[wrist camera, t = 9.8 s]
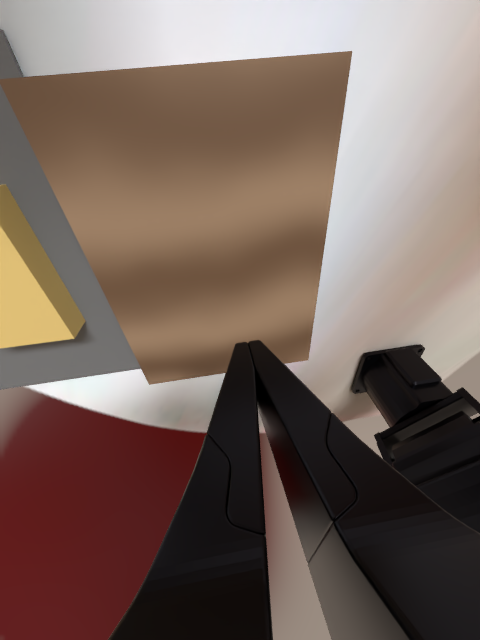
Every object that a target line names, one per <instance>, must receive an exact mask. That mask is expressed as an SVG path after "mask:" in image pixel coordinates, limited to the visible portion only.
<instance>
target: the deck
mask: <svg viewBox="0 0 480 640" xmlns="http://www.w3.org/2000/svg"><path fill="white" fill-rule="evenodd" d="M351 56H352V51H347V52H335V53H322V54H310V55H297V56H285V57H272V58H259V59H247V60H234V61H222V62H209V63H197V64H184V65H171V66H159V67H146V68H134V69H121V70H108V71H96V72H83V73H71V74H58V75H46V76H33V77H20V78H8V79H0V85H1V87H2V89H3V91H4V93H5V95H6V97H7V99H8V101H9V103H10V105H11V107H12V109H13V111H14V113H15V115H16V117H17V119H18V121H19V123H20V125H21V127H22V129H23V131H24V133H25V135H26V137H27V139H28V141H29V143H30V145H31V147H32V149H33V151H34V153H35V155H36V157H37V159H38V161H39V163H40V165H41V167H42V169H43V171H44V173H45V175H46V177H47V180H48V182H49V184H50V186H51V188H52V190H53V192H54V194H55V196H56V198H57V200H58V202H59V204H60V206H61V208H62V210H63V212H64V214H65V216H66V218H67V220H68V222H69V224H70V226H71V228H72V230H73V232H74V234H75V236H76V238H77V240H78V242H79V244H80V246H81V248H82V250H83V252H84V254H85V256H86V258H87V260H88V262H89V264H90V266H91V268H92V270H93V272H94V274H95V276H96V278H97V280H98V282H99V284H100V286H101V288H102V290H103V292H104V294H105V296H106V298H107V300H108V303H109V305H110V307H111V309H112V311H113V313H114V315H115V317H116V319H117V321H118V323H119V325H120V327H121V329H122V331H123V333H124V335H125V337H126V339H127V341H128V343H129V345H130V347H131V349H132V351H133V353H134V355H135V357H136V359H137V361H138V363H139V365H140V367H141V369H142V371H143V373H144V375H145V377H146V379H147V381H148V383H149V385H150V384H156V383H163V382H169V381H176V380H182V379H188V378H195V377H201V376H208V375H214V374H221V373H226V371H227V368H228V365H229V362H230V358H231V355H232V352H233V349H234V346H235V344H236V343H240V342H247V343H248V342H249V341H253V340H261V341H262V342H263V343H264V344H265V345H266V346H267V347H268V348H269V349H270V350H271V351H272V352H273V353H274V354H275V355H276V356H277V357H278V358H279V359H280V360H281V361H282V362H283V363H284V364H285V363H292V362H298V361H305V360H308V357H309V350H310V343H311V336H312V329H313V322H314V315H315V308H316V301H317V294H318V287H319V280H320V273H321V266H322V259H323V252H324V245H325V238H326V231H327V224H328V217H329V210H330V203H331V196H332V189H333V182H334V175H335V168H336V161H337V154H338V147H339V140H340V133H341V126H342V119H343V112H344V105H345V98H346V91H347V84H348V77H349V70H350V63H351Z"/></svg>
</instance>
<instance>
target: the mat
mask: <svg viewBox="0 0 480 640" xmlns="http://www.w3.org/2000/svg"><path fill="white" fill-rule="evenodd" d="M20 77H24V76H23V74H22V72H21V70H20V67H19V65H18V63H17V61H16V58H15V56H14V54H13V52H12V49H11V47H10V45H9V43H8V40H7V38H6V36H5V34H4V31H3V30H1V29H0V79H8V78H20ZM4 184H6V186H7V187H8V189H9V191H10V192H11V194H12V196H13V198H14V199H15V201H16V203H17V204H18V206H19V208H20V210H21V211H22V213H23V215H24V216H25V218H26V220H27V222H28V223H29V225H30V227H31V228H32V230H33V232H34V234H35V235H36V237H37V239H38V240H39V242H40V244H41V246H42V247H43V249H44V251H45V252H46V254H47V256H48V258H49V259H50V261H51V263H52V264H53V266H54V268H55V269H56V271H57V273H58V275H59V276H60V278H61V280H62V281H63V283H64V285H65V287H66V288H67V290H68V292H69V293H70V295H71V297H72V299H73V300H74V302H75V304H76V305H77V307H78V309H79V311H80V312H81V314H82V316H83V317H84V319H85V323H84V324H83V326H82V327H81V329H80V331H79V332H78V334H77V336H76V337H75V339H68V340H61V341H53V342H46V343H38V344H31V345H23V346H16V347H8V348H0V390H1V389H7V388H14V387H21V386H27V385H34V384H41V383H47V382H54V381H60V380H67V379H74V378H80V377H87V376H94V375H100V374H107V373H113V372H120V371H127V370H133V369H140V368H141V367H140V365H139V363H138V361H137V359H136V357H135V355H134V353H133V351H132V349H131V347H130V345H129V343H128V341H127V339H126V337H125V335H124V333H123V331H122V329H121V327H120V325H119V323H118V321H117V319H116V317H115V315H114V313H113V311H112V309H111V307H110V305H109V303H108V300H107V298H106V296H105V294H104V292H103V290H102V288H101V286H100V284H99V282H98V280H97V278H96V276H95V274H94V272H93V270H92V268H91V266H90V264H89V262H88V260H87V258H86V256H85V254H84V252H83V250H82V248H81V246H80V244H79V242H78V240H77V238H76V236H75V234H74V232H73V230H72V228H71V226H70V224H69V222H68V220H67V218H66V216H65V214H64V212H63V210H62V208H61V206H60V204H59V202H58V200H57V198H56V196H55V194H54V192H53V190H52V188H51V186H50V184H49V182H48V180H47V177H46V175H45V173H44V171H43V169H42V167H41V165H40V163H39V161H38V159H37V157H36V155H35V153H34V151H33V149H32V147H31V145H30V143H29V141H28V139H27V137H26V135H25V133H24V131H23V129H22V127H21V125H20V123H19V121H18V119H17V117H16V115H15V113H14V111H13V109H12V107H11V105H10V103H9V101H8V99H7V97H6V95H5V93H4V91H3V89H2V87H1V85H0V185H4Z"/></svg>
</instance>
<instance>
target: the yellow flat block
mask: <svg viewBox="0 0 480 640" xmlns="http://www.w3.org/2000/svg"><path fill="white" fill-rule="evenodd" d="M84 323H85V319H84V317H83V316H82V314H81V312H80V311H79V309H78V307H77V305H76V304H75V302H74V300H73V299H72V297H71V295H70V293H69V292H68V290H67V288H66V287H65V285H64V283H63V281H62V280H61V278H60V276H59V275H58V273H57V271H56V269H55V268H54V266H53V264H52V263H51V261H50V259H49V258H48V256H47V254H46V252H45V251H44V249H43V247H42V246H41V244H40V242H39V240H38V239H37V237H36V235H35V234H34V232H33V230H32V228H31V227H30V225H29V223H28V222H27V220H26V218H25V216H24V215H23V213H22V211H21V210H20V208H19V206H18V204H17V203H16V201H15V199H14V198H13V196H12V194H11V192H10V191H9V189H8V187H7V186H6V184H4V185H0V348H8V347H16V346H23V345H31V344H38V343H46V342H53V341H61V340H68V339H75V337H76V336H77V334H78V332H79V331H80V329H81V327H82V326H83V324H84Z"/></svg>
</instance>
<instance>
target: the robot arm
mask: <svg viewBox="0 0 480 640" xmlns="http://www.w3.org/2000/svg"><path fill="white" fill-rule="evenodd" d="M424 350H425V348H424V347H423V346H422V345H413V346H406V347H400V348H394V349H387V350H381V351H374V352H368V353H366V354H364V355H363V357H362V360H361V363H360V366H359V369H358V372H357V375H356V378H355V380H354V383H353V386H352V391H353V393H355V394H356V393H363V392H367V393H368V395H369V396H370V398H371V399H372V401H373V402H374V404H375V405H376V407H377V408H378V410H379V411H380V413H381V414H382V416H383V417H384V419H385V421H386V422H387V424H388V425H389V427H390V428H388V429H387V430H385V431H383V432H381V433H377V434H375V435H374V436H375V439H376V441H377V446H378V448H379V450H380V452H381V455H382V457H383V459H382V458H381V457H380V456H379V455H377V454H376V453H375V452H374V451H373V450H372V449H371V448H369V447H368V446H367V445H366V444H365V443H364V442H362V441H361V440H360V439H359V438H358V437H357V436H356V435H355V434H354V433H353V432H352V431H351V430H350V429H349V428H348V427H346V426H345V425H344V424H343V423H342V422H341V421H340V420H339V419H338V418H337V417H336V416H335V415H334V414H333V413H331V411H330V410H329V409H328V408H327V407H326V406H325V405H324V404H323V403H322V402H321V401H320V400H319V399H318V398H317V397H316V396H315V395H314V394H313V393H312V392H311V391H310V390H309V389H308V388H307V387H306V386H305V385H304V384H303V383H302V382H301V381H300V380H299V379H298V378H297V377H296V376H295V375H294V374H293V373H292V372H291V371H290V369H289V368H288V367H287V366H286V365H285V364H284V363H283V362H282V361H281V360H280V359H279V358H278V357H277V356H276V355H275V354H274V353H273V352H272V351H271V350H270V349H269V348H268V347H267V346H266V345H265V344H264V343H263V342H262V341H261V340H253V341H249V342H248V343H247V342H240V343H236V344H235V346H234V349H233V352H232V355H231V358H230V362H229V365H228V368H227V371H226V374H225V377H224V380H223V383H222V387H221V390H220V393H219V396H218V399H217V402H216V405H215V408H214V411H213V415H212V418H211V421H210V424H209V427H208V430H207V435H206V436H205V439H204V442H203V445H202V449H201V452H200V454H199V457H198V460H197V463H196V465H195V468H194V471H193V473H192V476H191V478H190V481H189V483H188V485H187V488H186V490H185V492H184V495H183V497H182V499H181V501H180V504H179V506H178V508H177V510H176V513H175V515H174V517H173V519H172V521H171V524H170V526H169V528H168V530H167V533H166V535H165V537H164V539H163V542H162V544H161V546H160V548H159V550H158V553H157V555H156V557H155V559H154V561H153V564H152V566H151V568H150V570H149V572H148V574H147V576H146V578H145V580H144V582H143V584H142V585H141V587H140V589H139V591H138V593H137V595H136V596H135V598H134V600H133V602H132V604H131V605H130V607H129V608H128V610H127V611H126V613H125V615H124V616H123V618H122V619H121V621H120V622H119V624H118V625H117V627H116V628H115V630H114V631H113V633H112V635H111V636H110V638H109V639H108V640H273V634H272V620H271V606H270V591H269V576H268V561H267V545H266V530H265V515H264V499H263V484H262V469H261V453H260V438H259V422H258V408H259V412H260V415H261V418H262V421H263V424H264V428H265V431H266V434H267V437H268V440H269V443H270V447H271V450H272V453H273V456H274V459H275V462H276V465H277V469H278V472H279V475H280V478H281V481H282V484H283V487H284V491H285V494H286V497H287V500H288V503H289V506H290V510H291V513H292V516H293V519H294V522H295V525H296V529H297V532H298V535H299V538H300V541H301V544H302V547H303V550H304V553H305V557H306V560H307V562H308V567H309V570H310V573H311V576H312V579H313V582H314V586H315V589H316V592H317V595H318V598H319V601H320V604H321V608H322V611H323V614H324V617H325V620H326V623H327V626H328V630H329V633H330V636H331V639H332V640H480V416H479V417H477V418H475V419H473V420H472V419H471V418H470V416H473V415H475V414H477V413H479V414H480V403H479V402H478V401H477V400H476V399H474V398H473V397H472V396H471V395H470V394H469V393H468V392H467V391H466V390H465V389H464V388H460V389H458V390H457V392H455V393H452V392H451V391H450V390H449V389H448V388H447V387H446V386H445V385H444V384H443V383H442V382H441V380H442V379H441V377H440V376H439V375H438V374H437V373H436V372H435V371H434V370H433V369H432V368H431V367H430V366H429V365H428V364H427V363H426V362H425V361H424V360H423V359H422V358H421V355H422V354H423V352H424ZM257 405H258V406H257Z"/></svg>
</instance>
